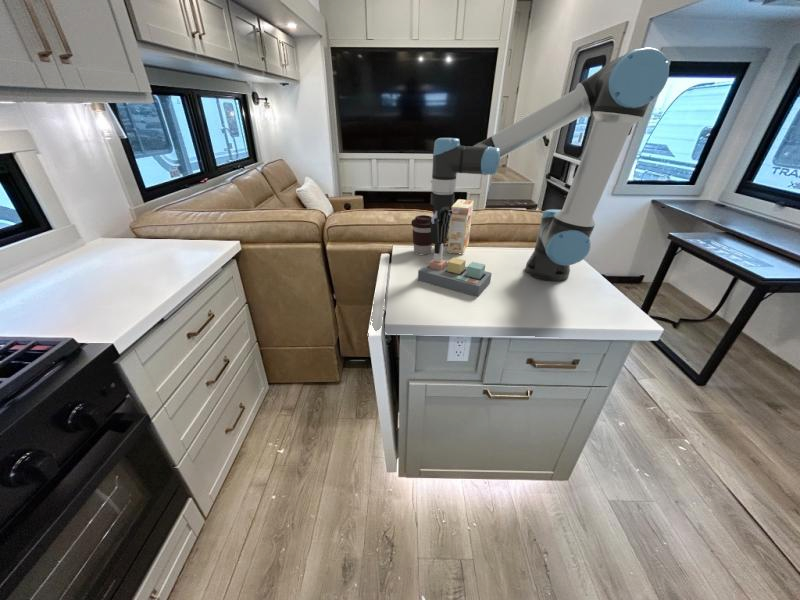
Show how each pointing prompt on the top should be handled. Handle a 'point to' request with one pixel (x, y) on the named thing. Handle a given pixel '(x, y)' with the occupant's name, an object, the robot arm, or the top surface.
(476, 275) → the key
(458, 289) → the keypad board
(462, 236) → the coffeecake box
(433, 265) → the key
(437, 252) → the robot arm
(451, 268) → the key mid
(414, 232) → the coffee cup
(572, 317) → the top surface
